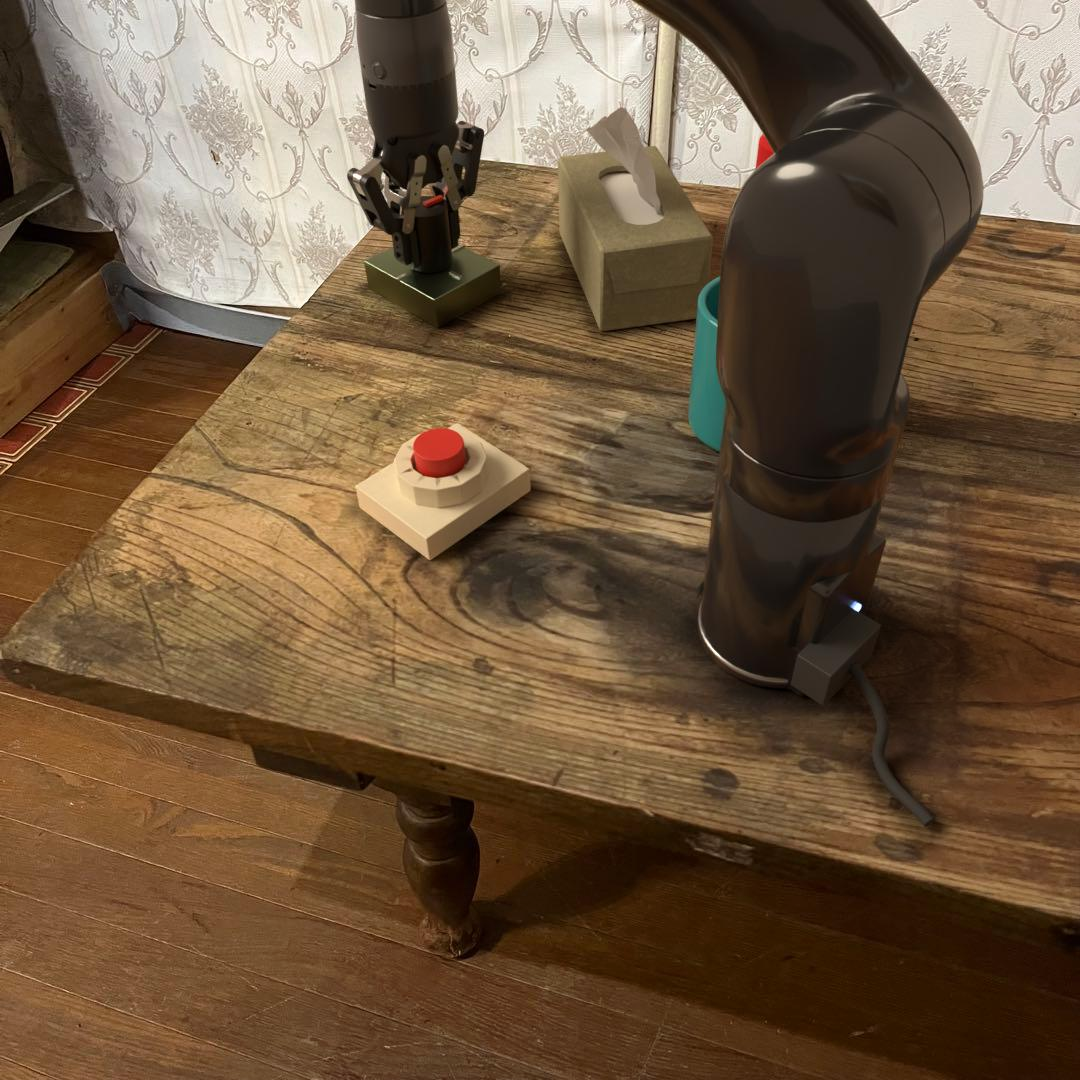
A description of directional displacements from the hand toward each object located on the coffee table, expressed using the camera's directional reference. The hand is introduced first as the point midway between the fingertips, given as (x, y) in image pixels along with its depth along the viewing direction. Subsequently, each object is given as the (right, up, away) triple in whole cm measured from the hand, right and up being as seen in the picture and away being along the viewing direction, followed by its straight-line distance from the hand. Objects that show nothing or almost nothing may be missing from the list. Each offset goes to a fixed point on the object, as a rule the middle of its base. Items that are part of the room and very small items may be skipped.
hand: (428, 254), depth 95 cm
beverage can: (+33, +1, +6) cm, 33 cm away
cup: (+27, -18, -14) cm, 35 cm away
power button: (+3, -21, -21) cm, 29 cm away
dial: (0, -1, 0) cm, 1 cm away
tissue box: (+19, -1, +4) cm, 19 cm away
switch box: (+3, -23, -18) cm, 29 cm away
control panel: (0, -3, +3) cm, 4 cm away
